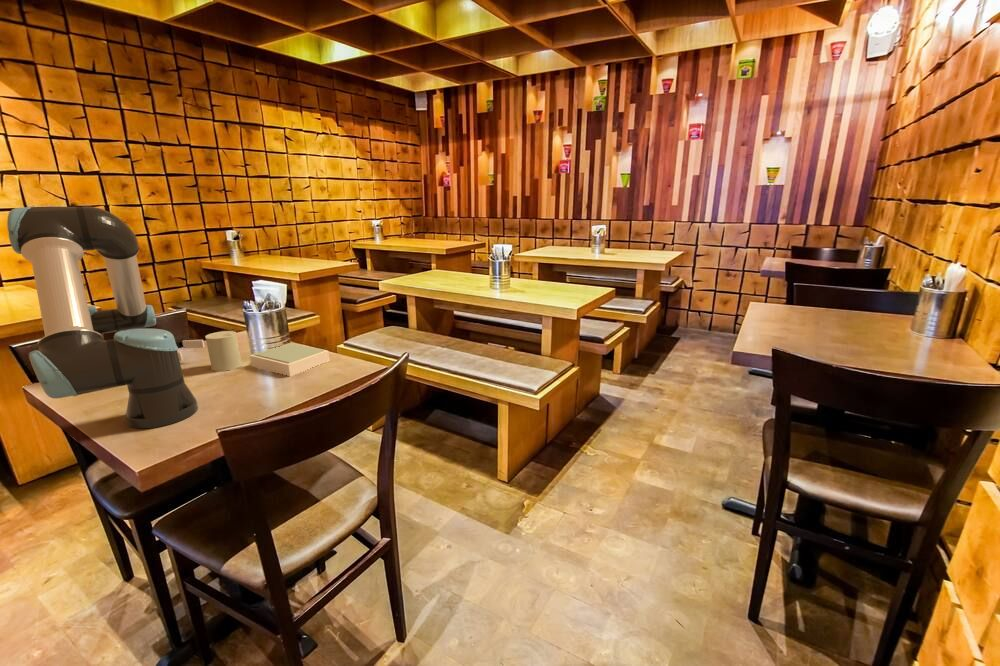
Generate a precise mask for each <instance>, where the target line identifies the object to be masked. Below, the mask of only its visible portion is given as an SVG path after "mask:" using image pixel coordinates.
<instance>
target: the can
mask: <svg viewBox="0 0 1000 666" xmlns="http://www.w3.org/2000/svg"><path fill="white" fill-rule="evenodd" d="M204 337H205V342H206V347H207V351H208V356H209V362H210V368H211V369H212V370H214V371H213V372H216V371H222V372H226V371H225V370H229V371H232V370H231V369H234V370H236V368H237V369H239V368H241V367H242V366H243V362H242V358H241V353H240V346H239V342H238V340H239V339H238V334H237V332H236V331H235V330H234V331H233V330H221V331H217V332H213V333H208V334H206V335H204ZM240 366H241V367H240ZM212 370H211V371H212Z"/></svg>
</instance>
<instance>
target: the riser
mask: <svg viewBox="0 0 1000 666" xmlns="http://www.w3.org/2000/svg"><path fill="white" fill-rule="evenodd" d="M279 346H280V347H278V346H275V347H276V348H275V347H272V348H269V349H265V350H262V351H259V352H256V353H253V354H249V361H250V366H251V367H253V368H256V369H259V370H263V371H268V372H271V373H275V374H278V373H279V375H282V374H283V376H286V375H287V377H292V376H295V374H296V375H299V374H301V373H303V371H304V372H306V371H308V370H307V369H309V370H311V369H313V368H312V367H314V368H316V367H315V366H317V365H319V366H321V365H320V364H322V363H325V362H327V363H329V362H328V361H330V354H329V353H330V351H329V350H326V349H322V348H316V347H312V346H309V345H303V344H297V343H293V342H288V343H285V344H282V346H281V345H279ZM330 362H331V361H330ZM325 364H326V363H325ZM322 365H323V364H322ZM317 367H318V366H317ZM310 368H311V369H310ZM305 370H306V371H305ZM300 372H301V373H300Z"/></svg>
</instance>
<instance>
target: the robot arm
mask: <svg viewBox="0 0 1000 666" xmlns="http://www.w3.org/2000/svg"><path fill="white" fill-rule="evenodd" d="M6 225H7V226H6V227H7V231H8V238H9V243H10V245H11V248H12V250H13V251H14V252H15V253H16V254H18V255H21V256H22V257H23V259H25V260H26V261H27V262H30V263H31V265H32V272H33V278H34V282H35V288H36V293H37V299H38V306H39V310H40V316H41V321H42V327H43V332H44V336H43V337H41V338H40V339H39V340H38V342H37V350H36V349H34V350H33V351H30V352H28V359H29V361H30V364H31V366H32V369H33V371H34V373H35V376H36V378H37V381H38V383H39V384H40V386H41V388H42V390H43V392H44V393H45V394H46V396H48V397H49V398H52V399H63V398H68V397H78V396H80V395H85V394H89V393H94V392H98V391H103V390H104V391H105V390H109V389H114V388H117V387H118V388H119V387H123V386H126V387H127V391H128V399H127V400H128V401H127V406H126V413H125V418H126V422H127V425H128V426H129V427H130V428H133V429H153V428H160V427H163V426H168V425H171V424H174V423H178V422H181V421H183V420H185V419H187V418H189V417H191V416H193V415H194V414H195V413H196V412H197V411H198V409H199V406H198V401H197V399H196V397H195V396H194V394H193V393H192V391H191V389H190V387H188V385H187V384H186V383H185V379H184V374H183V370H182V366H181V362H182V361H184V358H183V353H182V351H179V352H178V350H179V349H203V348H205V343H204V339H188V340H186V338H184V337H181V338H179V339H177V338H176V339H175V337H174V334H173V333H172V332H171V331H168V330H165V329H161V328H160V329H159V328H150V327H154V326H155V325H157V318H156V313H155V310H154V309H155V308H154V307H153V305H151V304H146V299H145V293H144V289H143V284H142V277H141V274H140V273H141V272H140V268H139V264H138V258H137V255H138V254H139V252H140V245H139V242H138V238H137V236H136V234H135V232H134V231H133V230H132V229H131V227H129V225H128V224H127V223H125V222H124V221H123V220H122V219H120V217H118V216H117V215H115V214H114V213H112V212H110V211H107V210H105V209H102V208H99V207H94V206H34V205H32V206H26V207H25V206H23V207H15V208H12V209H11V210H10V211H9V212H8V215H7V223H6ZM86 251H97V253H98V255H100V256H101V257H103V260H104V264H105V268H106V272H107V276H108V279H109V283H110V287H111V290H112V295H113V298H114V303H115V305H116V308H114V309H113V308H112V309H104V310H102V309H101V310H98V309H97V307H96V306H95V305H91V304H90V305H89V304H88V300H87V299H88V298H87V295H86V289H85V287H84V281H83V276H82V273H81V268H80V267H81V266H80V263H79V261H81V260H82V259H83V258H84V254H85V252H86ZM109 333H114V335H113V338H112V339H107V340H106V339H104V338H105V336H104V334H109Z"/></svg>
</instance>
